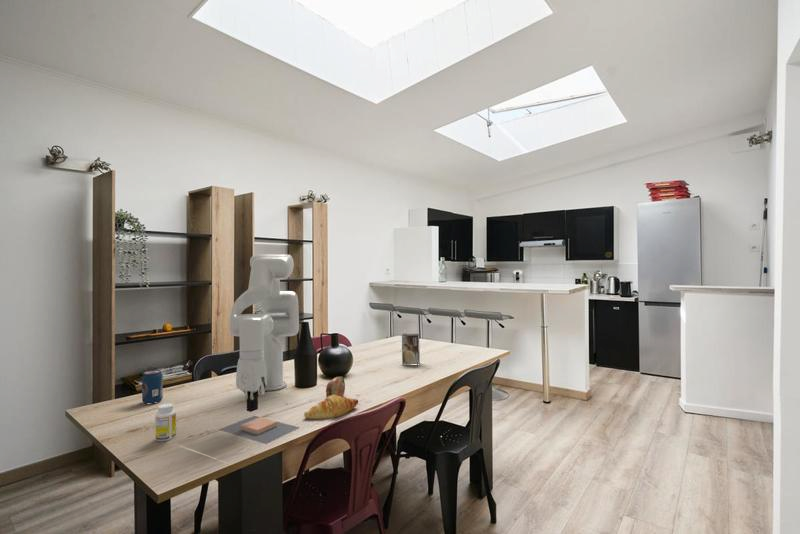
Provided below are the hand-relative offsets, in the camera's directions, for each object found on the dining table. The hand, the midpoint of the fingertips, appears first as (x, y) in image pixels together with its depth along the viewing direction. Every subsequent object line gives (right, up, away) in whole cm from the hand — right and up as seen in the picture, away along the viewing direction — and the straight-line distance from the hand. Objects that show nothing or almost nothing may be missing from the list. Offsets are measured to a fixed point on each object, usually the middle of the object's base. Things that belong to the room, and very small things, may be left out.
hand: (252, 410), depth 134 cm
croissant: (+24, -6, +12) cm, 28 cm away
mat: (+3, -6, -2) cm, 7 cm away
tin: (+23, -6, +27) cm, 36 cm away
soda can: (-49, -6, +26) cm, 56 cm away
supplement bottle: (-24, -6, -8) cm, 26 cm away
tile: (-1, -5, +1) cm, 5 cm away
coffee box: (+55, -5, +85) cm, 101 cm away
